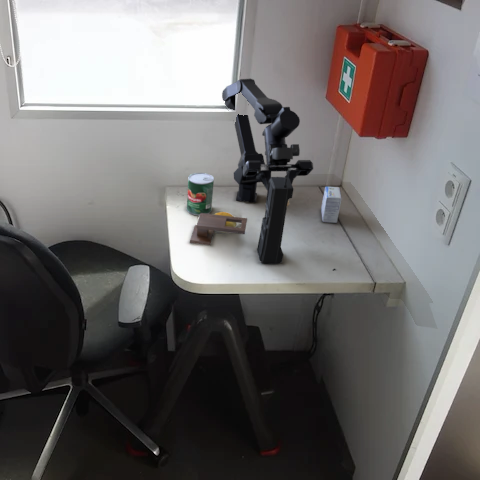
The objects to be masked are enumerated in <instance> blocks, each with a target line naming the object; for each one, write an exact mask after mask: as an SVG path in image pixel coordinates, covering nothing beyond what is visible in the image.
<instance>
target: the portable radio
mask: <svg viewBox="0 0 480 480" xmlns="http://www.w3.org/2000/svg"><path fill="white" fill-rule="evenodd" d="M293 195H294V187H293V183H292V184H291V181H290V179H289V178H285V176H271V179H269V184H268V191H267V190H266V199H265V212H264V217H263V218H262V220H261V225H260V232H259V238H258V243H257V247H256V251H257V257H258V260H259V262H260V263H261V264H263V265H279V264H282V262H283V258H284V252H283V249H282V241H283V235H284V229H285V222H286V215H287V208H288V206H287V203H288V200H289V201H290V199H293Z"/></svg>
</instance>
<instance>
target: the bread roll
mask: <svg viewBox="0 0 480 480" xmlns="http://www.w3.org/2000/svg"><path fill="white" fill-rule="evenodd" d="M214 214H215V215H223V216H232V217H235V216H234V215H233V214H231V213H230V212H226V211H219V212H216V213H214ZM237 224H238V223H236V222H227V221H226V225H225V226H229V227H237ZM213 231H214V230H213ZM229 233H230V232H222V231H214V234H229Z"/></svg>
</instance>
